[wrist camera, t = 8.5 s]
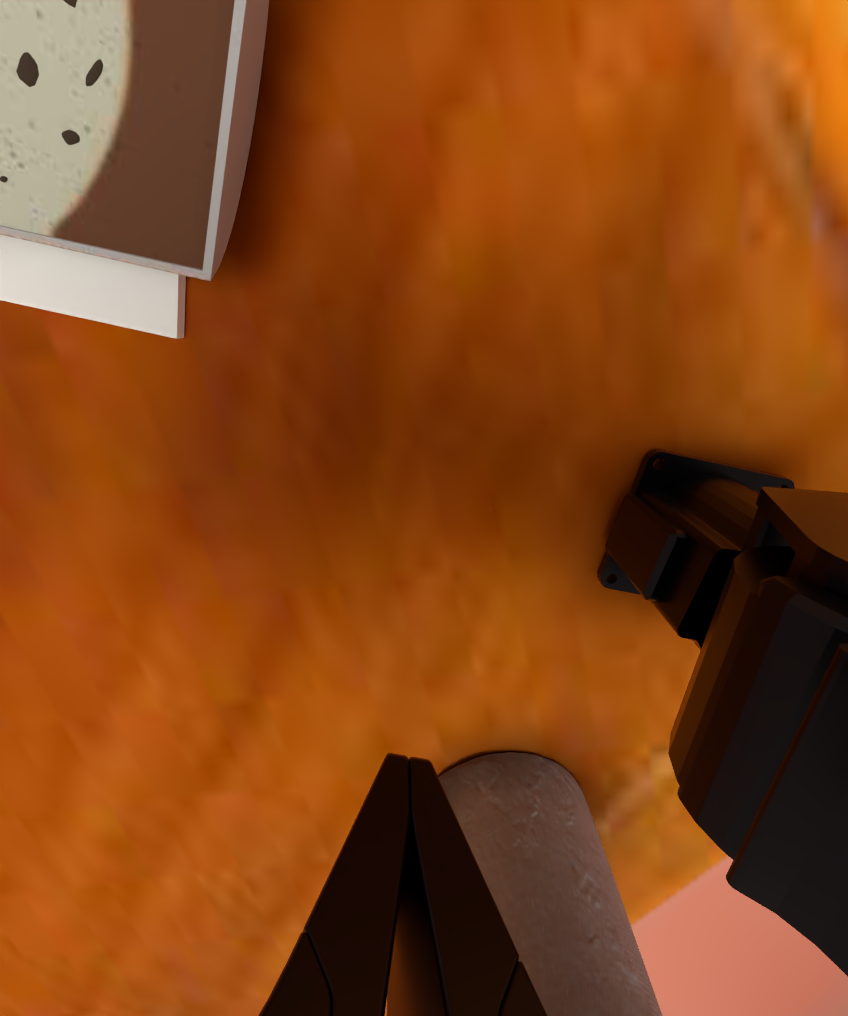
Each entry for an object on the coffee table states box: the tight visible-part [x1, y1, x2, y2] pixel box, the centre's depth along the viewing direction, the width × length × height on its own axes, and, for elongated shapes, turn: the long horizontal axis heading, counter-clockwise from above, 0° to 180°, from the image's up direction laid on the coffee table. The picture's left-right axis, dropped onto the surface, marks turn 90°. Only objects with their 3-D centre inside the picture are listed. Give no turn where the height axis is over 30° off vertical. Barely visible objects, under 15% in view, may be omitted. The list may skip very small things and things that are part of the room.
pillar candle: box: [438, 752, 662, 1016], centre depth 22 cm, size 10×10×15 cm
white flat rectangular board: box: [0, 235, 186, 339], centre depth 15 cm, size 11×15×1 cm
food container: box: [0, 0, 269, 281], centre depth 13 cm, size 12×6×10 cm
